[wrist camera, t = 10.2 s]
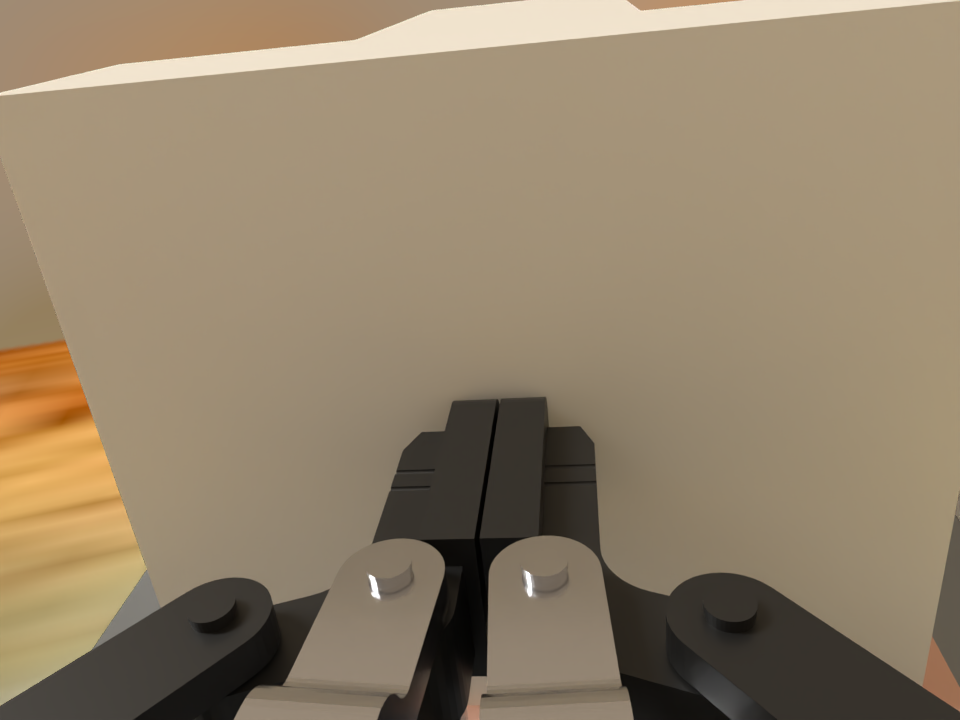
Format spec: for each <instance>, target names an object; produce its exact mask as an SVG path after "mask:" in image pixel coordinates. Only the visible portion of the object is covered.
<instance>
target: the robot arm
mask: <svg viewBox="0 0 960 720" xmlns="http://www.w3.org/2000/svg"><path fill="white" fill-rule="evenodd" d="M472 676H487V693H486V694H482V695H481V700H480V713H479V720H960V711H958V710H957V709H955V708H954V707H952V706H951V705H949V704H947V703H946V702H944V701H943V700H941V699H940V698H938V697H937V696H935V695H934V694H932V693H931V692H929V691H928V690H926V689H925V688H923V687H922V686H920V685H919V684H917V683H916V682H914V681H913V680H911V679H910V678H908V677H907V676H905V675H904V674H902V673H901V672H899V671H898V670H896V669H894V668H893V667H891V666H890V665H888V664H887V663H885V662H884V661H882V660H881V659H879V658H878V657H876V656H875V655H873V654H872V653H870V652H869V651H867V650H866V649H864V648H863V647H861V646H860V645H858V644H857V643H855V642H854V641H852V640H851V639H849V638H848V637H846V636H845V635H843V634H841V633H840V632H838V631H837V630H835V629H834V628H832V627H831V626H829V625H828V624H826V623H825V622H823V621H822V620H820V619H819V618H817V617H816V616H814V615H813V614H811V613H810V612H808V611H807V610H805V609H804V608H802V607H801V606H799V605H798V604H796V603H795V602H793V601H792V600H790V599H788V598H787V597H785V596H784V595H782V594H781V593H779V592H778V591H776V590H775V589H773V588H772V587H770V586H768V585H767V584H765V583H763V582H761V581H758V580H756V579H754V578H751V577H747V576H744V575H739V574H734V573H722V572H720V573H708V574H702V575H698V576H695V577H692V578H690V579H688V580H686V581H684V582H682V583H681V584H680V585H678V586H677V587H676V588H675V589H674V590H673V591H672V593H671V594H670V596H668V595H664V594H659V593H655V592H651V591H647V590H644V589H640V588H638V587H636V586H633V585H631V584H629V583H627V582H625V581H624V580H622V579H621V578H619V577H618V576H617V575H615V574H614V573H613V572H612V571H611V570H610V569H609V568H608V566H607V565H606V563H605V562H604V559H603V557H602V555H601V549H600V533H599V516H598V498H597V480H596V462H595V444H594V442H593V441H592V440H591V439H590V437H589V436H588V435H587V434H586V433H585V431H584V430H583V429H582V428H581V427H580V426H567V427H549V421H548V408H547V399H546V397H527V398H503V399H501V400H500V404H499V400H498V399H483V400H459V401H453V402H452V405H451V409H450V412H449V416H448V420H447V424H446V428H445V431H437V432H421V433H420V434H419V435H418V436H417V437H416V438H415V439H414V440H413V441H412V442H411V443H410V444H409V445H408V446H407V447H406V448H405V449H404V450H403V452H402V455H401V458H400V461H399V464H398V467H397V470H396V474H395V476H394V479H393V482H392V485H391V491H389V494H388V497H387V500H386V503H385V506H384V509H383V512H382V515H381V518H380V521H379V524H378V527H377V530H376V533H375V536H374V539H373V542H372V544H371V545H368V546H366V547H364V548H362V549H361V550H359V551H357V552H356V553H354V554H353V555H352V556H351V557H350V558H348V559H347V560H346V561H345V563H344V564H343V565H342V566H341V568H340V570H339V571H338V573H337V575H336V577H335V580H334V582H333V584H332V586H331V588H330V589H328V590H326V591H323V592H321V593H317V594H314V595H311V596H307V597H303V598H299V599H295V600H291V601H287V602H283V603H279V604H275V605H273V602H272V598H271V595H270V593H269V591H268V589H267V588H266V587H265V586H264V585H262V584H261V583H259V582H257V581H255V580H252V579H247V578H237V577H232V578H223V579H218V580H214V581H211V582H208V583H205V584H202V585H200V586H197V587H195V588H193V589H192V590H190V591H188V592H186V593H184V594H183V595H181V596H180V597H178V598H176V599H175V600H173V601H171V602H170V603H168V604H166V605H165V606H163V607H162V608H160V609H158V610H157V611H155V612H153V613H152V614H150V615H148V616H147V617H145V618H144V619H142V620H140V621H139V622H137V623H135V624H134V625H132V626H130V627H129V628H127V629H126V630H124V631H122V632H121V633H119V634H117V635H116V636H114V637H112V638H111V639H109V640H108V641H106V642H104V643H103V644H101V645H99V646H98V647H96V648H94V649H93V650H91V651H90V652H88V653H86V654H85V655H83V656H81V657H80V658H78V659H76V660H75V661H73V662H72V663H70V664H68V665H67V666H65V667H63V668H62V669H60V670H59V671H57V672H55V673H54V674H52V675H50V676H49V677H47V678H45V679H44V680H42V681H41V682H39V683H37V684H36V685H34V686H32V687H31V688H29V689H27V690H26V691H24V692H23V693H21V694H19V695H18V696H16V697H14V698H13V699H11V700H9V701H8V702H6V703H5V704H3V705H1V706H0V720H468V714H467V704H468V700H469V693H470V686H471V678H472Z"/></svg>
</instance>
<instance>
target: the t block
mask: <svg viewBox="0 0 960 720" xmlns="http://www.w3.org/2000/svg"><path fill="white" fill-rule="evenodd" d="M0 158H1V161H2V164H3V167H4V169H5V172H6V175H7V178H8V180H9V183H10V186H11V189H12V192H13V195H14V197H15V200H16V203H17V206H18V209H19V211H20V214H21V217H22V220H23V222H24V225H25V228H26V231H27V234H28V236H29V239H30V242H31V245H32V248H33V251H34V254H35V256H36V259H37V262H38V265H39V268H40V270H41V273H42V276H43V279H44V281H45V284H46V287H47V290H48V293H49V296H50V298H51V301H52V304H53V307H54V310H55V313H56V315H57V318H58V321H59V324H60V326H61V329H62V332H63V335H64V338H65V341H66V343H67V346H68V349H69V352H70V355H71V357H72V360H73V363H74V366H75V369H76V371H77V374H78V377H79V380H80V383H81V385H82V388H83V391H84V394H85V397H86V400H87V402H88V405H89V408H90V411H91V414H92V416H93V419H94V422H95V425H96V428H97V430H98V433H99V436H100V439H101V442H102V444H103V447H104V450H105V453H106V456H107V458H108V461H109V464H110V467H111V470H112V472H113V475H114V478H115V481H116V484H117V487H118V489H119V492H120V495H121V498H122V501H123V503H124V506H125V509H126V512H127V515H128V517H129V520H130V523H131V526H132V529H133V531H134V534H135V537H136V540H137V543H138V545H139V548H140V551H141V554H142V557H143V559H144V562H145V565H146V568H147V571H148V574H149V576H150V579H151V582H152V585H153V588H154V590H155V593H156V596H157V599H158V602H159V604H160V607H161V608H162V607H163V606H165V605H166V604H168V603H170V602H171V601H173V600H175V599H176V598H178V597H180V596H181V595H183V594H184V593H186V592H188V591H190V590H192V589H193V588H195V587H197V586H200V585H202V584H205V583H208V582H211V581H214V580H218V579H223V578H232V577H237V578H247V579H252V580H255V581H257V582H259V583H261V584H262V585H264V586H265V587H266V588H267V589H268V591H269V593H270V595H271V598H272V602H273V605H275V604H279V603H283V602H287V601H291V600H295V599H299V598H303V597H307V596H311V595H314V594H317V593H321V592H323V591H326V590H328V589H330V588H331V586H332V584H333V582H334V580H335V577H336V575H337V573H338V571H339V570H340V568H341V566H342V565H343V564H344V563H345V561H346V560H347V559H348V558H350V557H351V556H352V555H353V554H354V553H356V552H357V551H359V550H361V549H362V548H364V547H366V546H368V545H371V544H372V542H373V539H374V536H375V533H376V530H377V527H378V524H379V521H380V518H381V515H382V512H383V509H384V506H385V503H386V500H387V497H388V494H389V491H391V485H392V482H393V479H394V476H395V474H396V470H397V467H398V464H399V461H400V458H401V455H402V452H403V450H404V449H405V448H406V447H407V446H408V445H409V444H410V443H411V442H412V441H413V440H414V439H415V438H416V437H417V436H418V435H419V434H420V433H421V432H437V431H445V428H446V424H447V420H448V416H449V412H450V409H451V405H452V402H453V401H459V400H483V399H498V400H499V404H500V400H501V399H503V398H527V397H546V399H547V408H548V421H549V427H567V426H580V427H581V428H582V429H583V430H584V431H585V433H586V434H587V435H588V436H589V437H590V439H591V440H592V441H593V442H594V444H595V462H596V480H597V498H598V516H599V533H600V549H601V555H602V557H603V559H604V562H605V563H606V565H607V566H608V568H609V569H610V570H611V571H612V572H613V573H614V574H615V575H617V576H618V577H619V578H621V579H622V580H624V581H625V582H627V583H629V584H631V585H633V586H636V587H638V588H640V589H644V590H647V591H651V592H655V593H659V594H664V595H668V596H670V594H671V593H672V591H673V590H674V589H675V588H676V587H677V586H678V585H680V584H681V583H682V582H684V581H686V580H688V579H690V578H692V577H695V576H698V575H702V574H708V573H720V572H722V573H734V574H739V575H744V576H747V577H751V578H754V579H756V580H758V581H761V582H763V583H765V584H767V585H768V586H770V587H772V588H773V589H775V590H776V591H778V592H779V593H781V594H782V595H784V596H785V597H787V598H788V599H790V600H792V601H793V602H795V603H796V604H798V605H799V606H801V607H802V608H804V609H805V610H807V611H808V612H810V613H811V614H813V615H814V616H816V617H817V618H819V619H820V620H822V621H823V622H825V623H826V624H828V625H829V626H831V627H832V628H834V629H835V630H837V631H838V632H840V633H841V634H843V635H845V636H846V637H848V638H849V639H851V640H852V641H854V642H855V643H857V644H858V645H860V646H861V647H863V648H864V649H866V650H867V651H869V652H870V653H872V654H873V655H875V656H876V657H878V658H879V659H881V660H882V661H884V662H885V663H887V664H888V665H890V666H891V667H893V668H894V669H896V670H898V671H899V672H901V673H902V674H904V675H905V676H907V677H908V678H910V679H911V680H913V681H914V682H916V683H917V684H919V685H920V686H923V681H924V675H925V670H926V665H927V660H928V654H929V649H930V644H931V639H932V633H933V628H934V623H935V618H936V612H937V607H938V602H939V596H940V591H941V586H942V581H943V575H944V570H945V565H946V560H947V554H948V549H949V544H950V538H951V533H952V528H953V523H954V517H955V512H956V507H957V502H958V496H959V491H960V0H743V1H733V2H723V3H713V4H704V5H694V6H684V7H675V8H665V9H656V10H645V11H640V10H639V9H637V8H636V7H635V6H633V5H632V4H630V3H629V2H628V1H627V0H526V1H516V2H507V3H498V4H488V5H479V6H469V7H460V8H450V9H441V10H433V11H429V12H426V13H423V14H421V15H418V16H416V17H413V18H411V19H408V20H405V21H403V22H401V23H398V24H395V25H393V26H390V27H388V28H385V29H382V30H380V31H378V32H375V33H372V34H370V35H367V36H365V37H362V38H360V39H357V40H353V41H344V42H343V41H342V42H334V43H323V44H313V45H304V46H294V47H284V48H275V49H265V50H256V51H246V52H236V53H226V54H216V55H206V56H196V57H186V58H177V59H167V60H157V61H147V62H138V63H129V64H119V65H115V66H110V67H106V68H102V69H98V70H93V71H89V72H85V73H81V74H77V75H72V76H68V77H65V78H60V79H56V80H52V81H47V82H43V83H39V84H35V85H31V86H27V87H22V88H18V89H14V90H10V91H6V92H1V93H0ZM486 693H487V676H472V678H471V686H470V693H469V700H468V704H467V705H480V700H481V695H482V694H486Z"/></svg>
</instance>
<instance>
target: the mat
mask: <svg viewBox="0 0 960 720" xmlns="http://www.w3.org/2000/svg"><path fill="white" fill-rule="evenodd" d="M160 608H161V607H160V604H159V602H158V599H157V596H156V593H155V590H154V588H153V585H152V582H151V579H150V576H149V574H148V571H147V570H146V572H145V573H144V575H143V576H142V578H141V579H140V580H139V582H138V583H137V585H136V586H135V588H134V589H133V591H132V592H131V594H130V595H129V596H128V598H127V599H126V601H125V602H124V604H123V605H122V607H121V608H120V610H119V611H118V613H117V614H116V615H115V617H114V618H113V620H112V621H111V623H110V624H109V626H108V627H107V629H106V630H105V631H104V633H103V634H102V636H101V637H100V639H99V640H98V642H97V643H96V645H95V646H94V648H96V647H98V646H99V645H101V644H103V643H104V642H106V641H108V640H109V639H111V638H112V637H114V636H116V635H117V634H119V633H121V632H122V631H124V630H126V629H127V628H129V627H130V626H132V625H134V624H135V623H137V622H139V621H140V620H142V619H144V618H145V617H147V616H148V615H150V614H152V613H153V612H155V611H157V610H158V609H160ZM94 648H93V649H94ZM93 649H92V650H93ZM922 687H923V688H925V689H926V690H928V691H929V692H931V693H932V694H934V695H935V696H937V697H938V698H940V699H941V700H943V701H944V702H946V703H947V704H949V705H951V706H952V707H954V708H955V709H957V710H958V711H960V521H959V519H958V518H957V517H956V515H955V517H954V523H953V528H952V533H951V538H950V544H949V549H948V554H947V560H946V565H945V570H944V575H943V581H942V586H941V591H940V596H939V602H938V607H937V612H936V618H935V623H934V628H933V633H932V639H931V644H930V649H929V654H928V660H927V665H926V670H925V675H924V681H923V686H922ZM479 713H480V705H467V714H468V720H479Z"/></svg>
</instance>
